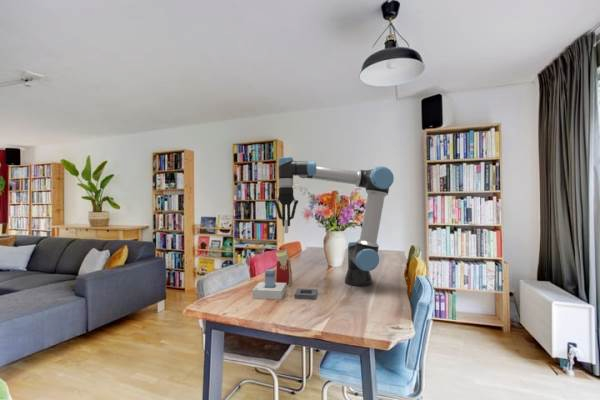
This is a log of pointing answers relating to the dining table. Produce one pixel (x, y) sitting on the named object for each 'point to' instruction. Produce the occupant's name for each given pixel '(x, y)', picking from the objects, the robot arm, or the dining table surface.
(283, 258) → the milk carton
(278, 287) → the port
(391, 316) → the dining table surface
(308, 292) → the dark grey square base
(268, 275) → the plug
